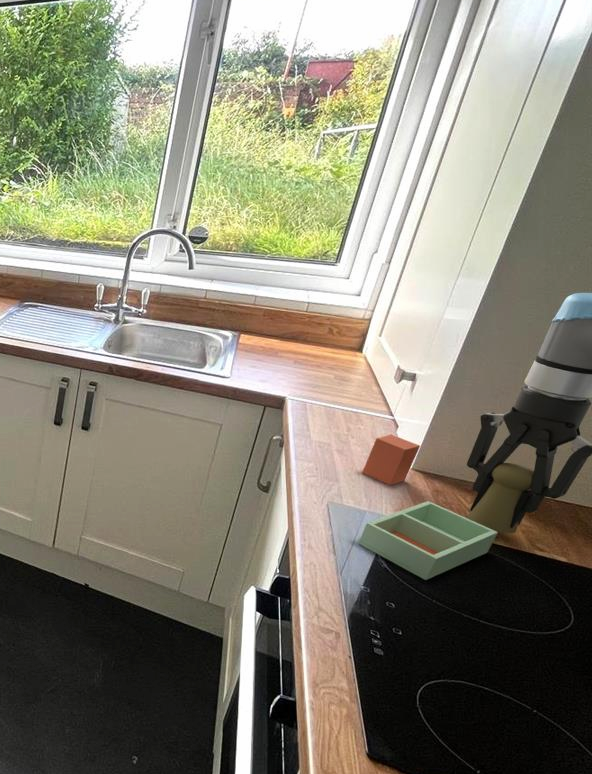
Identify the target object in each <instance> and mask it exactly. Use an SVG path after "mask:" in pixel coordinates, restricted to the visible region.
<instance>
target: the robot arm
mask: <svg viewBox="0 0 592 774" xmlns="http://www.w3.org/2000/svg"><path fill="white" fill-rule="evenodd" d="M523 382H524V384H525V386H522V387H521V388H520V390H519V392H518V394H517V396H516V398H515V401H514V402H513V405H512V407H511V408H510V410H508V411H506V412H505V413H495V412H487V413H483V414H481V415H480V417H479V419H480V427H481V428H480V429H479V432H478V435H477V438H476V440H475V442H474V444H473V447H472V450H471V452H470V455H469V458H468V460H467V462H466V466H467V467H468V468H470V469H473V470H474V471H475V472H476V473H477V476H476V479H475V480H474V483H473V484H472V487H471V490H472V491H474V492H476V493H477V494H476V496H475V498H474V500H473V503H472V504H471V507H470V509H469V512H470V511H472V510H473V509H474V507H475V506H476V505H477V503H478V502H479V501H480V500H481V498H482V497H483V496H484V494H485V492H486V491H487V489H488V487H489V486H490V484H491V483H492V481H493V480H494V479H493V477H492V472H493V469H494V468H495V467H496V466H497V465H499V464H501V463H506V461H507V460H508V458H509V457H511V455H513V453H514V452H515V451H516V450H517V448H518V447H520V445H522V444H523V445H528V446H530V447H533V448H534V449H535V455H536V456H535V463H534V469H533V471H534V474H533V480H532V486H531V489H529V490H528V491H525V492H523V493H522V495H521V496H520V498H519V500H518V502H517V504H516V506H515V508H514V513H513V517H512V521H511V525H510V528H513V527H514V525H515V524H516V523H517V522H518V521H519V523H518V526H519V525H521V524H522V522H523V519H524V518H525V515H526V514H527V513H528V514H532V513H534V512H536V511H538V509H539V507H540V506H541V505H542V502H543V500H544V498H551V499H553V500H555V499H559V498H561V497H563V496H565V495H566V494H567V493H568V491H569V489H570V488H571V486H572V484H573V483H574V481H575V479H576V477H578V474H579V473H580V472H581V470H582V468H583V467H584V464H585V463H586V462H587V460H588V458H589V457H591V456H592V443H591V442H590V441H588V440H587V439H585V438H584V437H582V436H581V431H580V426H581V424H582V422H583V420H584V419H585V417H586V416H587V415H586V414H587V413H588V411H589V409H590V407H591V405H592V402H591V400H590V399H592V292H575V293H573V294H571V295H568V296H567V297H566V298H565V299H564V301H563V303H562V304H561V306H560V308H558V311H557V313H556V314H555V316H554V318H552V320H551V325H550V327H549V329H548V331H547V333H546V336H545V338H544V340H543V343H542V345H541V347H540V349H539V352H538V353H537V355H536V357H535V359H534V361H533V363H532V365H531V367H530V369H529V371H528V372H527V375H526V377H525V380H524V381H523ZM503 423H505V426H506V428H507V430H508V433H509V435H508V436H507V437H506V438H505V439H504V441H503V443H502V444H501V445H500V446H499V448H498V449H496V451H495V452H493V454H492V455H491V456H490V458H489V459H488V460H487V461H486V462H485V460H486V458H487V455H488V453H489V451H490V448H491V446H492V444H493V441H494V439H495V436H496V434H497V431H498V429H499V427H500V426H502V425H503ZM570 442H571V443H572V446H571V451H572V452H573V453H572V454H571V455H570V456H569V457H568V459H567V460H566V462H565V464H564V465H563V467H562V469H561V470H560V472H559V474H558V476H557V477H556V478H555V480H554V482H553V484H552V485H551V487H550V483H551V478H552V472H553V467H554V461H555V455H556V454H557V451H558V447H560V446H562V445H565V444H568V443H570Z"/></svg>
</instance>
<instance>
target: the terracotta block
mask: <svg viewBox="0 0 592 774" xmlns="http://www.w3.org/2000/svg"><path fill="white" fill-rule="evenodd" d="M420 447H421V445H420V444H418V443H414V442H411V441H410V440H407V439H404V438H401V437H400V436H399V437H398V436H396V435H393V434H387V435H383V436H380V437H377V438H376V439H375V440H374V443H373V446H372V448H371V450H370V453H369V455H368V457H367V460H366V462H365V466H364V467H363V470H362V472H361V473H362V474H364V475H365V476H368V477H370V478H373V479H375V480H377V481H379V482H381V483H384V484H385V485H388V486H393V485H396V484H399V483H401V482H404V481H406V478H407V477H408V474H409V472H410V470H411V467H412V466H413V463H414V460H415V459H416V456H417V454H418V452H419V449H420Z"/></svg>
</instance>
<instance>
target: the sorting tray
mask: <svg viewBox="0 0 592 774" xmlns="http://www.w3.org/2000/svg"><path fill="white" fill-rule="evenodd" d="M498 534H499V532H497V531H494V530H492V529H490V528H487V527H485V526H483V525H481V524H478V523H476V522H474V521H472V520H471V519H469V518H468V517H465V516H463V515H461V514H458V513H456V512H454V511H452V510H450V509H447V508H445V507H442V506H441V505H438V504H436V503H434V502H432V501H430V500H427V501H424V502H421V503H419V504H416V505H412V506H411V507H408V508H404V509H402V510H400V511H397V512H393V513H390V514H388V515H385V516H383V517H380V518H377V519H374V520H372V521H371V520H370V521H369V522H366V524H365V526H364V529H363V530H362V532H361V536H360V538H359V540H358V542H357V544H358V545H361V546H362V547H363V548H366V549H367V550H369V551H371V552H373V553H375V554H377V555H378V556H381V557H382V558H384V559H386V560H388V561H390V562H391V563H393V564H395V565H397V566H399V567H401V568H402V569H404V570H406V571H408V572H410V573H412V574H413V575H415V576H416V577H419V578H421V579H422V580H425V581H428V580H430V579H432V578H434V577H436V576H438V575H441V574H443V573H445V572H447V571H450V570H452V569H455V568H456V567H458V566H461V565H463V564H465V563H467V562H469V561H472V560H473V559H476V558H478V557H481V556H483V555H485V554H488V552H489V550H490V548H491V546H492V545H493V543H494V541H495V539H496V537H497V536H498Z"/></svg>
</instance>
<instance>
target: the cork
mask: <svg viewBox="0 0 592 774" xmlns="http://www.w3.org/2000/svg"><path fill="white" fill-rule="evenodd" d="M533 474H534V469H531V468H529V467H527V466H524V465H520V464H517V463H512V462H504V463H501V464H499V465H497V466H496V467H495V468H494V469H493V472H492V477H493V479H494V480H493V481H492V483H491V484H490V486H489V487H488V489H487V491H486V492H485V494H484V496H483V497H482V498H481V500H480V501H479V502H478V503H477V505H476V506H475V507H474V509H473V510H472V511H470V510H469V512H468V514H467V518H468V519H470V520H472V521H474V522H476V523H478V524H481V525H483V526H485V527H487V528H490V529H492V530H494V531H496V532H498V533H502V534H515V533H516V532H517V530H518V527H519V525H518V523H519V521H518V522H517V523H516V524H515V525H514V527H513V528H510V525H511V521H512V517H513V513H514V508H515V506H516V504H517V502H518V500H519V498H520V496H521V495H522V493H523V492H525V491H528V490H530V489H531V486H532V480H533Z"/></svg>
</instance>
